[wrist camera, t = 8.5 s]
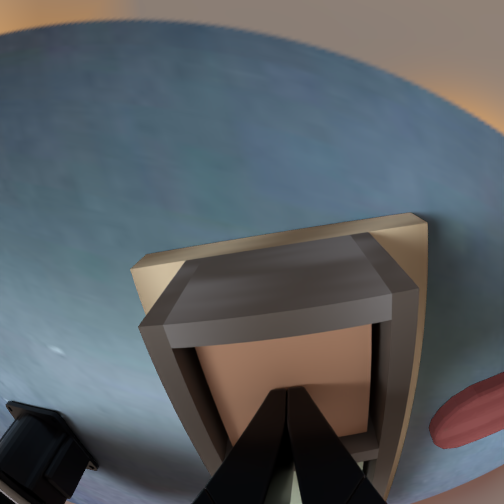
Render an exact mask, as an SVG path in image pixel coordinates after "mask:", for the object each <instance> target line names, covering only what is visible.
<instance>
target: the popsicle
mask: <svg viewBox="0 0 504 504" xmlns="http://www.w3.org/2000/svg"><path fill="white" fill-rule="evenodd" d="M502 429H504V372H502V373H500V374H498V375H495V376H493V377H490V378H488V379H486V380H483V381H481V382H478V383H475V384H473V385H471V386H469V387H467V388H466V389H464V390H463V391H461V392H459V393H458V394H456V395H454V396H453V397H451V398H450V399H449V400H448V401H447V402H446V403H445V404H444V405H443V406H442V407H441V408H440V409H439V410H438V411H437V413H436V414H435V415H434V417H433V418H432V420H431V422H430V425H429V431H430V434H431V437H432V440H433V442H434V444H435V445H436V446H438V447H440V448H442V449H448V448H456V447H460V446H463V445H465V444H468V443H471V442H473V441H476V440H479V439H481V438H484V437H486V436H488V435H491V434H493V433H496V432H498V431H500V430H502Z"/></svg>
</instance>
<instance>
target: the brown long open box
mask: <svg viewBox="0 0 504 504" xmlns="http://www.w3.org/2000/svg"><path fill="white" fill-rule="evenodd" d="M130 270H131V273H132V276H133V279H134V282H135V285H136V288H137V291H138V294H139V297H140V300H141V303H142V306H143V308H144V311H145V314H146V316H145V318H144V319H143V321H142V322H141V323H140V325H139V326H138V328H139V330H140V333H141V335H142V338H143V340H144V343H145V345H146V348H147V350H148V352H149V355H150V357H151V359H152V362H153V364H154V366H155V369H156V371H157V373H158V375H159V377H160V380H161V382H162V384H163V386H164V388H165V390H166V393H167V395H168V397H169V399H170V401H171V403H172V405H173V407H174V409H175V411H176V413H177V415H178V417H179V419H180V421H181V423H182V425H183V427H184V429H185V430H186V432H187V434H188V436H189V438H190V440H191V442H192V443H193V445H194V447H195V449H196V451H197V452H198V454H199V456H200V458H201V459H202V461H203V463H204V465H205V466H206V468H207V470H208V471H209V473H210V475H211V476H213V475H214V474H215V472H216V471H217V469H218V468H219V467H220V465H221V464H222V462H223V461H224V460H225V458H226V457H227V455H228V454H229V452H230V451H231V449H232V448H233V447H234V446H232V443H231V441H230V439H229V436H228V434H227V431H226V429H225V427H224V424H223V422H222V419H221V417H220V414H219V412H218V409H217V407H216V404H215V401H214V399H213V396H212V394H211V391H210V388H209V386H208V383H207V380H206V377H205V375H204V372H203V369H202V366H201V364H200V361H199V358H198V355H197V352H196V349H195V347H200V346H213V345H224V344H234V343H244V342H253V341H262V340H271V339H279V338H286V337H294V336H301V335H308V334H314V333H321V332H327V331H333V330H339V329H345V328H351V327H357V326H362V325H368V324H371V377H370V397H369V412H368V424H367V432H363V433H358V434H353V435H347V436H341V437H339V438H340V440H341V441H342V443H343V444H344V446H345V447H346V448H347V450H348V451H349V453H350V454H351V456H352V457H353V458H354V460H355V461H356V463H358V462H363V469H362V471H363V472H364V474H365V477H367V478H368V479H369V481H370V482H371V483H372V485H373V486H374V487H375V489H376V490H377V491H378V493H379V494H380V495H381V496H382V498H383V499H384V500H385V501H386V500H387V497H388V494H389V491H390V488H391V485H392V482H393V479H394V476H395V473H396V469H397V466H398V462H399V459H400V455H401V452H402V448H403V444H404V440H405V436H406V432H407V428H408V424H409V419H410V415H411V410H412V405H413V400H414V395H415V389H416V384H417V378H418V371H419V365H420V358H421V350H422V342H423V333H424V323H425V311H426V296H427V274H428V223H427V222H425V221H424V220H422V219H420V218H419V217H417V216H415V215H414V214H412V213H403V214H396V215H390V216H383V217H376V218H369V219H362V220H356V221H349V222H342V223H336V224H329V225H323V226H316V227H310V228H303V229H297V230H291V231H284V232H278V233H272V234H265V235H259V236H253V237H247V238H241V239H235V240H229V241H222V242H216V243H210V244H204V245H199V246H193V247H187V248H181V249H175V250H169V251H163V252H157V253H152V254H146V255H145V256H144V257H143V258H142V259H141V260H140V261H138V262H137V263H136V264H135V265H134V266H133V267H132V268H131V269H130ZM294 471H295V466H294Z"/></svg>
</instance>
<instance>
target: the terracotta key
mask: <svg viewBox="0 0 504 504" xmlns="http://www.w3.org/2000/svg"><path fill="white" fill-rule="evenodd" d="M195 349H196V352H197V355H198V358H199V361H200V364H201V366H202V369H203V372H204V375H205V377H206V380H207V383H208V386H209V388H210V391H211V394H212V396H213V399H214V401H215V404H216V407H217V409H218V412H219V414H220V417H221V419H222V422H223V424H224V427H225V429H226V431H227V434H228V436H229V439H230V441H231V443H232V446H234V445H235V444H236V442H237V441H238V439H239V438H240V436H241V435H242V433H243V432H244V430H245V429H246V427H247V426H248V424H249V423H250V421H251V420H252V418H253V417H254V415H255V413H256V412H257V410H258V409H259V407H260V406H261V404H262V403H263V401H264V399H265V398H266V396H267V395H268V393H269V391H270V390H272V389H281V388H286V389H287V390H288V388H290V387H298V386H303V387H305V389H306V390H307V392H308V393H309V395H310V396H311V398H312V399H313V401H314V402H315V403H316V405H317V406H318V408H319V409H320V411H321V412H322V414H323V415H324V417H325V418H326V420H327V421H328V423H329V424H330V425H331V427H332V428H333V430H334V431H335V433H336V434H337V436H338V437H341V436H347V435H353V434H358V433H363V432H367V424H368V412H369V397H370V377H371V324H368V325H362V326H357V327H351V328H345V329H339V330H333V331H327V332H321V333H314V334H308V335H301V336H294V337H286V338H279V339H271V340H262V341H253V342H244V343H234V344H224V345H213V346H200V347H195Z"/></svg>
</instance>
